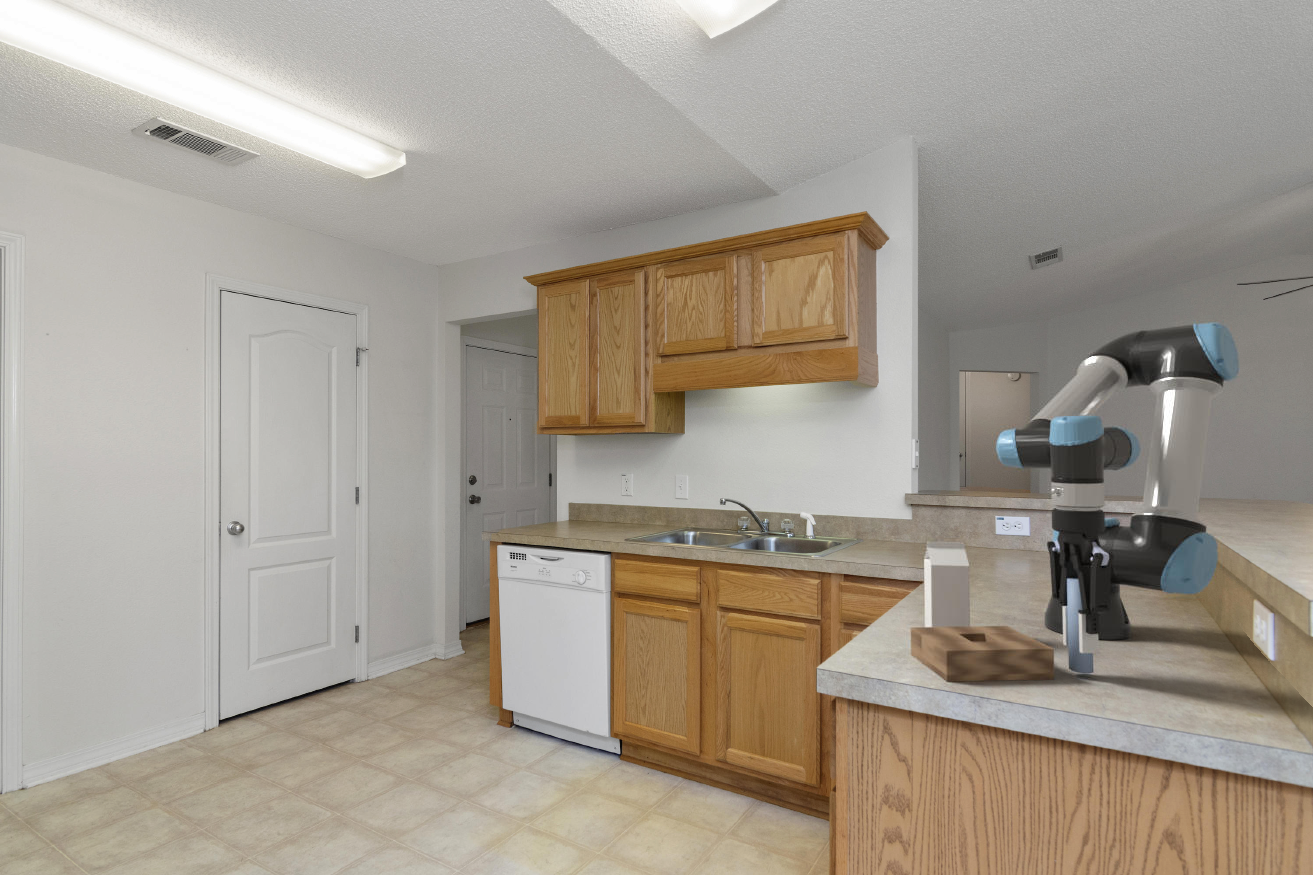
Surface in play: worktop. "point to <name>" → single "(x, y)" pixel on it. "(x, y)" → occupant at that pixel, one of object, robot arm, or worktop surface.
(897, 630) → the worktop surface
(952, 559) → the milk carton
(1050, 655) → the bore block
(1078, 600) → the pin
